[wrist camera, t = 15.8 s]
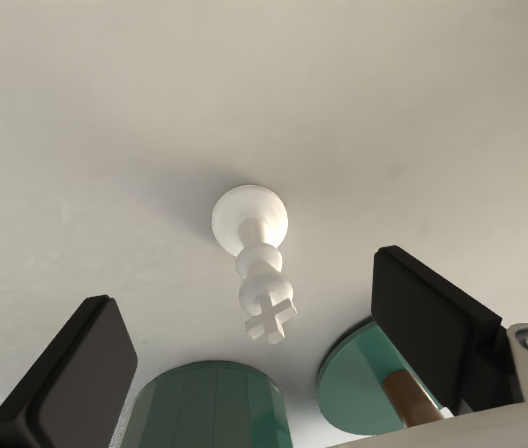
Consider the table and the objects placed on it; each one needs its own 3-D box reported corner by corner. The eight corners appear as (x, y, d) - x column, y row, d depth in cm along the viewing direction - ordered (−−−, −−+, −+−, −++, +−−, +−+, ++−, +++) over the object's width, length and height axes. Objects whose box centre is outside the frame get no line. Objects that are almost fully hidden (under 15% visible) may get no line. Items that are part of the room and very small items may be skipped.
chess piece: (196, 210, 16) (153, 324, 7) (263, 169, 16) (311, 232, 7) (238, 267, 18) (248, 416, 9) (299, 231, 18) (376, 348, 8)
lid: (489, 309, 23) (577, 370, 17) (429, 420, 28) (481, 497, 22) (335, 301, 20) (378, 371, 15) (298, 425, 25) (319, 513, 20)
